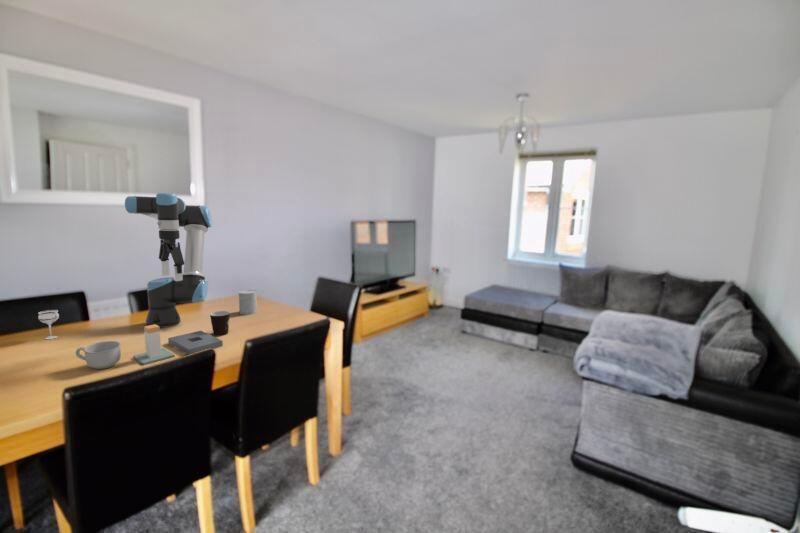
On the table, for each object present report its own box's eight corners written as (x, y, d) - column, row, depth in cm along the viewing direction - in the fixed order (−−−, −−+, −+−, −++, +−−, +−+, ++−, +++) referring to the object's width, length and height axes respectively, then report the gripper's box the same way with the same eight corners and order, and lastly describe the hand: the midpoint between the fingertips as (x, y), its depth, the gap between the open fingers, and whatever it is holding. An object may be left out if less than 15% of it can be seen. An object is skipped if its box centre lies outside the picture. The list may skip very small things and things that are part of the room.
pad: (133, 357, 150) (132, 355, 150) (163, 349, 159) (163, 348, 159) (143, 365, 144) (143, 363, 144) (174, 356, 153) (174, 354, 152)
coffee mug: (222, 337, 176) (222, 316, 175) (206, 335, 178) (205, 315, 177) (238, 329, 188) (237, 310, 186) (222, 328, 189) (222, 308, 188)
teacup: (128, 360, 148) (127, 340, 147) (108, 372, 137) (106, 351, 136) (92, 359, 147) (90, 340, 146) (68, 371, 137) (66, 350, 135)
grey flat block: (168, 343, 167) (168, 338, 166) (200, 335, 178) (200, 330, 177) (189, 355, 155) (188, 349, 154) (222, 346, 166) (222, 340, 165)
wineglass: (65, 336, 171) (62, 310, 169) (47, 341, 164) (44, 314, 163) (54, 334, 173) (51, 309, 171) (36, 339, 166) (33, 313, 164)
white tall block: (146, 355, 151) (144, 326, 149) (157, 352, 154) (155, 324, 152) (150, 357, 149) (148, 328, 147) (161, 355, 152) (159, 326, 150)
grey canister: (260, 312, 219) (260, 291, 217) (246, 315, 211) (245, 294, 209) (250, 309, 224) (249, 289, 222) (235, 312, 216) (235, 291, 214)
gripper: (147, 227, 166) (151, 274, 170) (171, 232, 151) (175, 284, 155) (166, 226, 172) (169, 272, 176) (191, 232, 157) (194, 281, 161)
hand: (172, 278), depth 166 cm, fingers open, 13 cm apart
